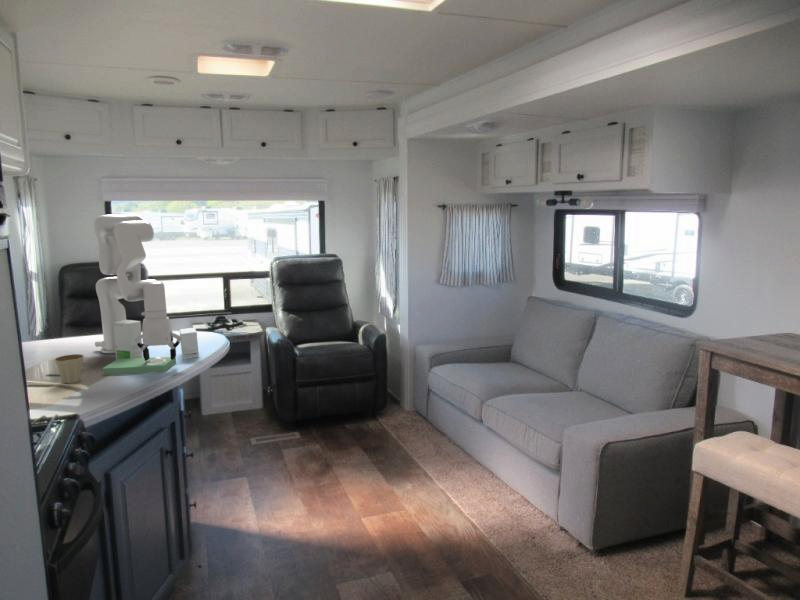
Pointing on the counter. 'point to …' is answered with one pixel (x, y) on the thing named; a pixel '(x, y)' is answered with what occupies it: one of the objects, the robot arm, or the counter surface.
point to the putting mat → (137, 366)
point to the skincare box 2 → (189, 343)
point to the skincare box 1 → (127, 339)
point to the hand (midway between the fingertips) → (160, 359)
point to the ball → (158, 360)
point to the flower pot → (70, 367)
